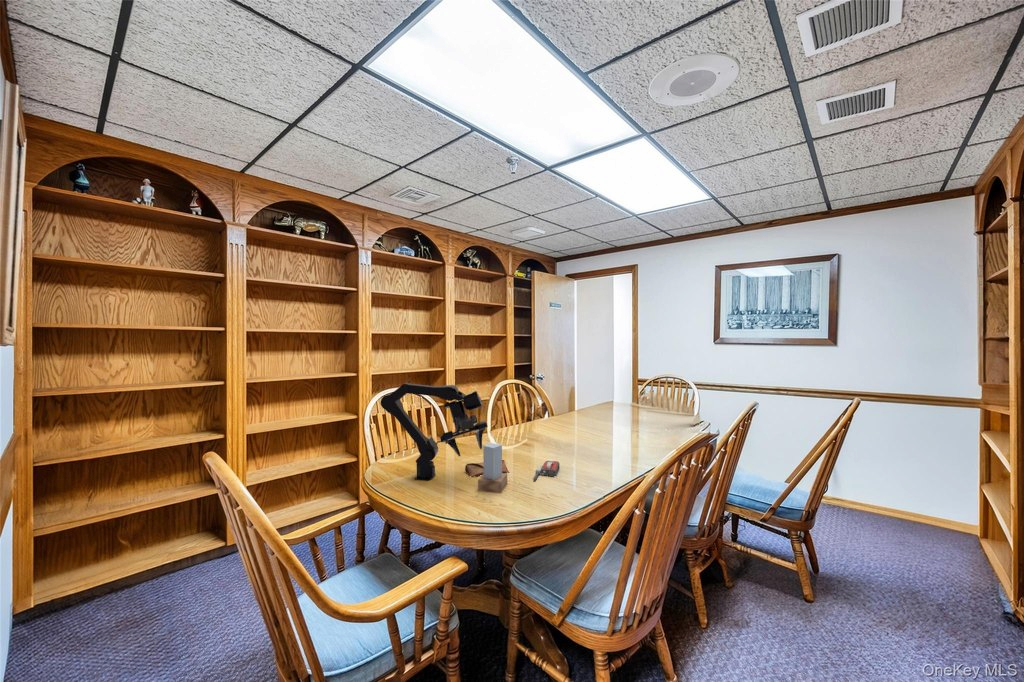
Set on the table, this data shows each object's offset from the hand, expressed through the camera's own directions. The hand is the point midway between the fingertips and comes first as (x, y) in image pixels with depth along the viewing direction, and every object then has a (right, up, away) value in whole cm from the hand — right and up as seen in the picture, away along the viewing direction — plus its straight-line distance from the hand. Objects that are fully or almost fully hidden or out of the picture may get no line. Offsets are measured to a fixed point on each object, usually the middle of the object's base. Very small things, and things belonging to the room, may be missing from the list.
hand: (470, 452), depth 156 cm
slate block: (+9, -8, -5) cm, 13 cm away
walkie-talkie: (+31, -12, +9) cm, 34 cm away
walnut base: (+9, -12, -5) cm, 16 cm away
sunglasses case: (+6, -12, +12) cm, 18 cm away
